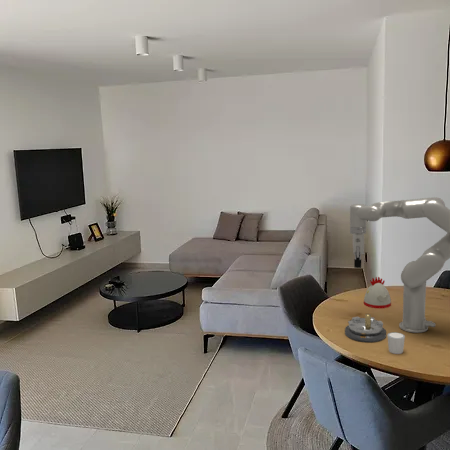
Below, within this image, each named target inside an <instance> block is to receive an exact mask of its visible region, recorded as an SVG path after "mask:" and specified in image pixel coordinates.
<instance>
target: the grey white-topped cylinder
mask: <svg viewBox="0 0 450 450" xmlns="http://www.w3.org/2000/svg"><path fill="white" fill-rule="evenodd" d="M386 337H387V347H388V348H387V349H388V352H389V353H390V354H393V355H394V354H395V355H401V354H403V353H404V348H405V340H406V339H405V338H406V336H405V334H403V333H401V332H388V333H387V334H386Z"/></svg>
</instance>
